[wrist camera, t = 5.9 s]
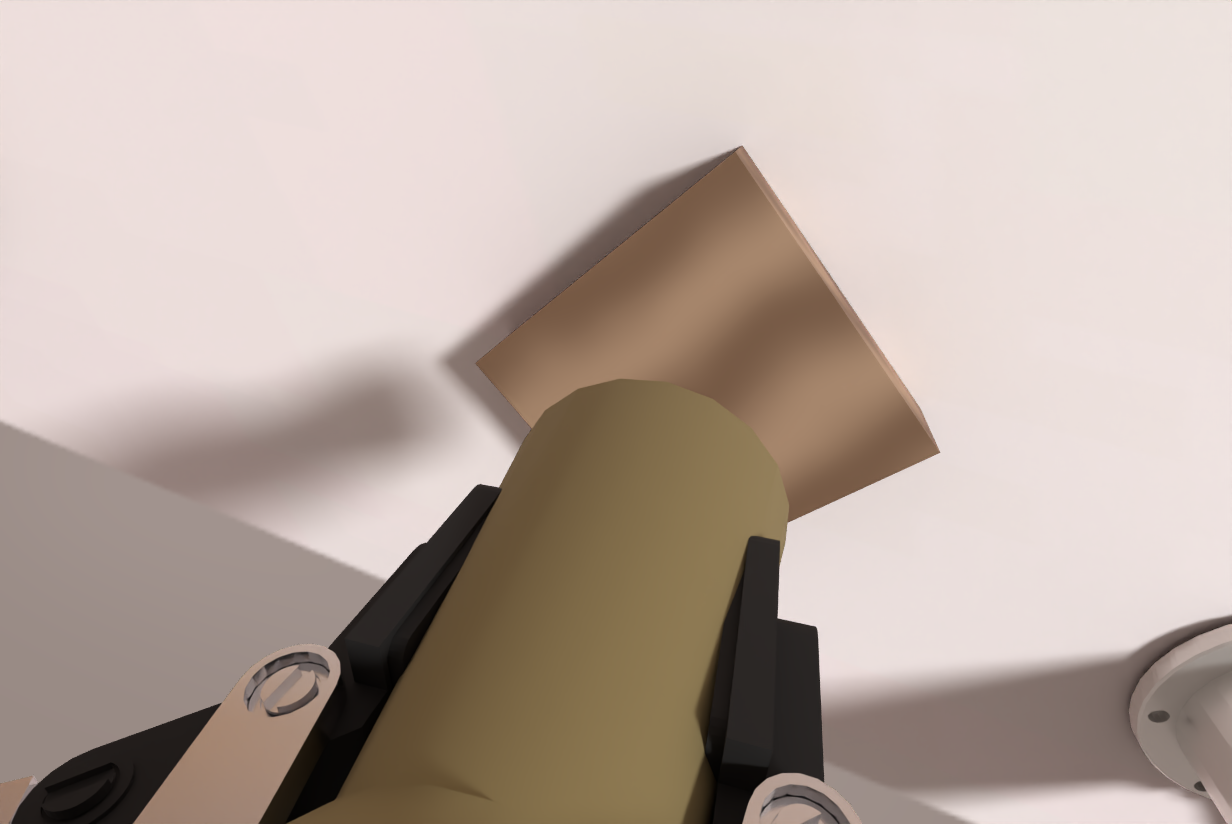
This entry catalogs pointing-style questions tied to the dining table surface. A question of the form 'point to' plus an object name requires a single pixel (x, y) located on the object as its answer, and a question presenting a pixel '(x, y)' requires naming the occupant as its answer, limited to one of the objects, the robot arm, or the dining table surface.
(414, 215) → the dining table surface
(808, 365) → the walnut plinth
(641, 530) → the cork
